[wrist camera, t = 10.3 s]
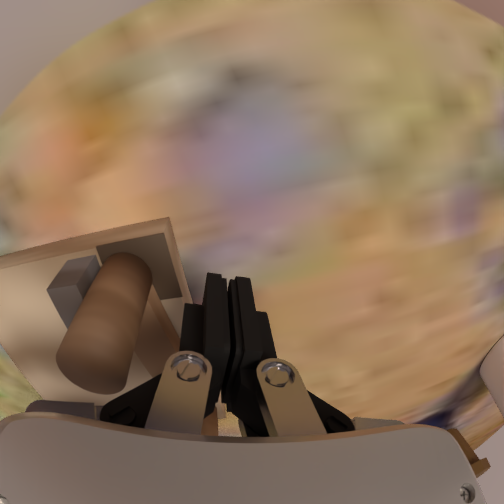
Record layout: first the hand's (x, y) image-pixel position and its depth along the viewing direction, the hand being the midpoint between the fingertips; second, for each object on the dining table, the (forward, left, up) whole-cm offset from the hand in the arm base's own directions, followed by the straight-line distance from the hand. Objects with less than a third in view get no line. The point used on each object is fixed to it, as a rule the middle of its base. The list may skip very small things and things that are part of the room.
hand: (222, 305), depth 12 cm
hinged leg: (-2, +4, -1) cm, 4 cm away
